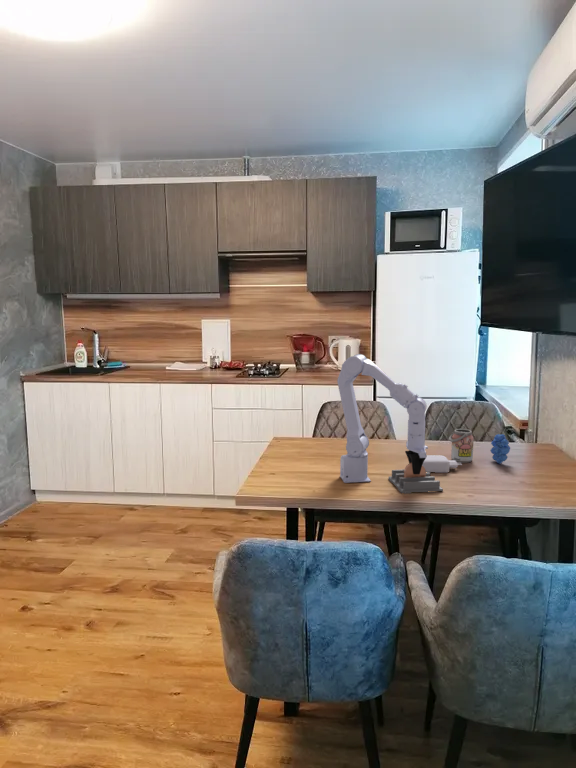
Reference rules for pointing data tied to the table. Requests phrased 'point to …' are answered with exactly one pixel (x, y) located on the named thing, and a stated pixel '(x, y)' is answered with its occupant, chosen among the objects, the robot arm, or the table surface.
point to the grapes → (500, 448)
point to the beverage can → (462, 445)
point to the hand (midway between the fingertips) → (415, 472)
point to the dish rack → (414, 482)
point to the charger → (439, 464)
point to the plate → (409, 472)
